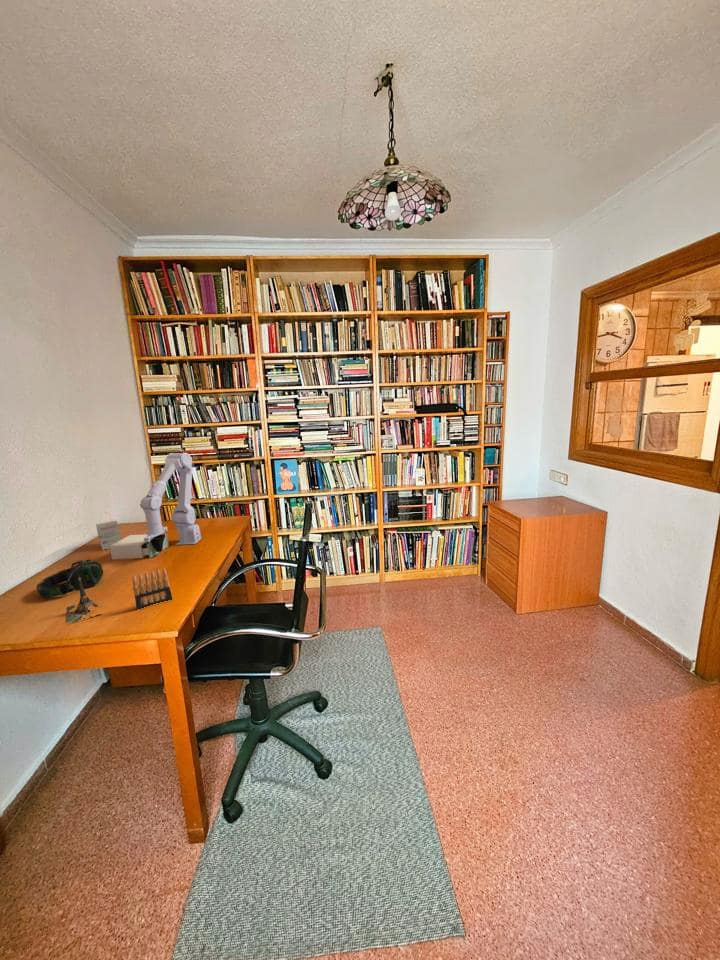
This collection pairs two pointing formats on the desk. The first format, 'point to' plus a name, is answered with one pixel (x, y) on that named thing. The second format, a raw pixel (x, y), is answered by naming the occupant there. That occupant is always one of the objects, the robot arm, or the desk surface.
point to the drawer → (151, 550)
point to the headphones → (71, 579)
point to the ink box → (108, 533)
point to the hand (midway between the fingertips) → (159, 551)
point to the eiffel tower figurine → (79, 606)
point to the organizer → (128, 547)
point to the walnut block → (145, 545)
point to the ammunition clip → (151, 589)
